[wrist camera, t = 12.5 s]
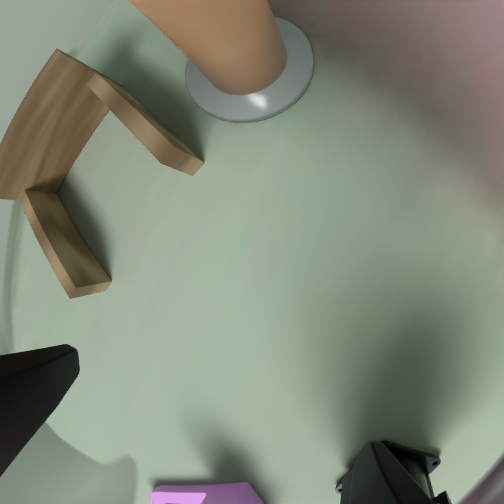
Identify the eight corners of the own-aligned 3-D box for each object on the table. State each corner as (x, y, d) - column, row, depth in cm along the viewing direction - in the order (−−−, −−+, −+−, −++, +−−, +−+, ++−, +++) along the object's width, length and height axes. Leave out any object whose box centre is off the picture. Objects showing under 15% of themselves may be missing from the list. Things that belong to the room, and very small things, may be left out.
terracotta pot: (313, 57, 16) (266, -107, 3) (240, 118, 17) (109, -13, 5) (250, 16, 16) (175, -107, 4) (185, 69, 18) (68, -30, 6)
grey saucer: (331, 38, 16) (330, 28, 15) (284, 140, 18) (280, 134, 16) (224, 18, 18) (218, 10, 17) (172, 106, 20) (164, 100, 18)
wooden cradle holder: (204, 162, 19) (131, 124, 11) (105, 290, 22) (27, 308, 14) (119, 84, 21) (56, 48, 13) (47, 195, 24) (-18, 189, 16)
